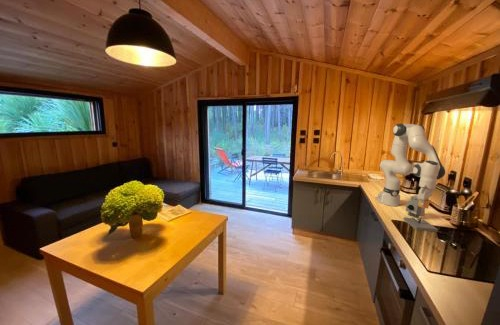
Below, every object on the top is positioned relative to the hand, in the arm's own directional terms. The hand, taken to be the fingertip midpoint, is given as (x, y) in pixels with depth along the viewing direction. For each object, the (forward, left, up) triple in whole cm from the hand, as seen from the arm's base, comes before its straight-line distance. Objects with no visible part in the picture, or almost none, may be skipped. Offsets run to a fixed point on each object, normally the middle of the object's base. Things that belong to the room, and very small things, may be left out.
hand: (423, 203), depth 151 cm
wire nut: (0, 0, -2) cm, 2 cm away
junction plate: (0, 0, -16) cm, 16 cm away
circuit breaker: (-18, +6, -16) cm, 25 cm away
